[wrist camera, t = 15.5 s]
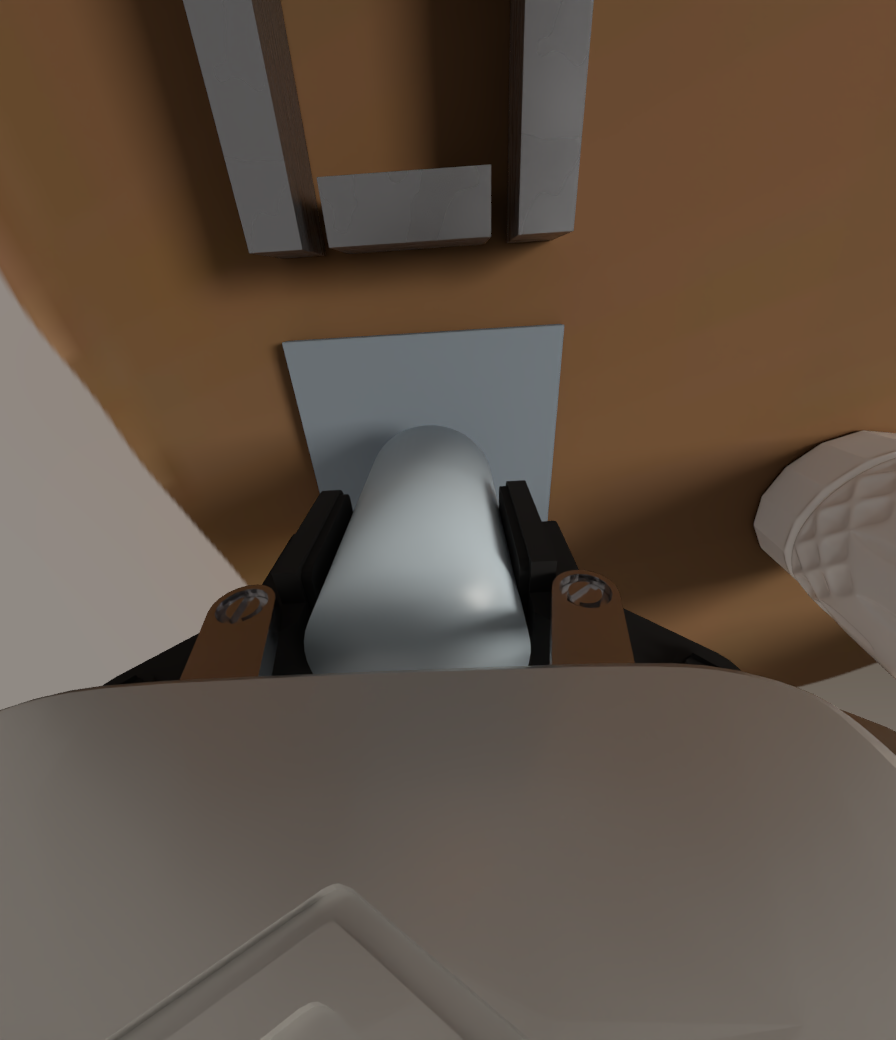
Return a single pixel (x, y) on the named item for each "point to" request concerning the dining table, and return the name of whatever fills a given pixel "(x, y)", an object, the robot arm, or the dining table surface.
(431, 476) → the cylinder
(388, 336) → the rubber mat
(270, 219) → the cartridge socket
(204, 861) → the robot arm
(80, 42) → the dining table surface
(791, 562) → the white cup
